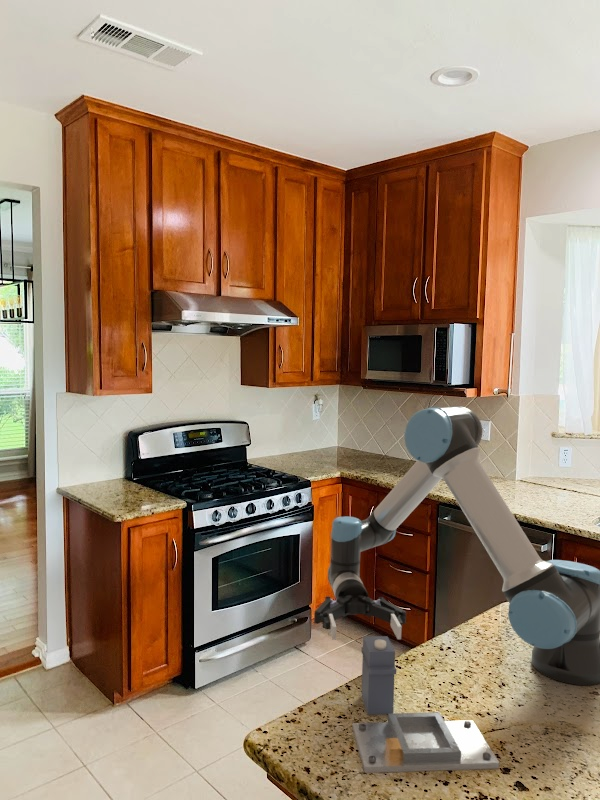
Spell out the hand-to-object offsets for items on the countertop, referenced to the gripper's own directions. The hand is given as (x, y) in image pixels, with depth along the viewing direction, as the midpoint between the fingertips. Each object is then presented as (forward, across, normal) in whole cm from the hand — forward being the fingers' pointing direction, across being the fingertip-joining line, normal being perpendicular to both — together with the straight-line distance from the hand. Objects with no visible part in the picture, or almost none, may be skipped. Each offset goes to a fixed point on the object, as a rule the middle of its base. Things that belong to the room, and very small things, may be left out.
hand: (367, 633), depth 128 cm
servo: (+10, 0, -10) cm, 14 cm away
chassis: (+24, -5, -9) cm, 26 cm away
